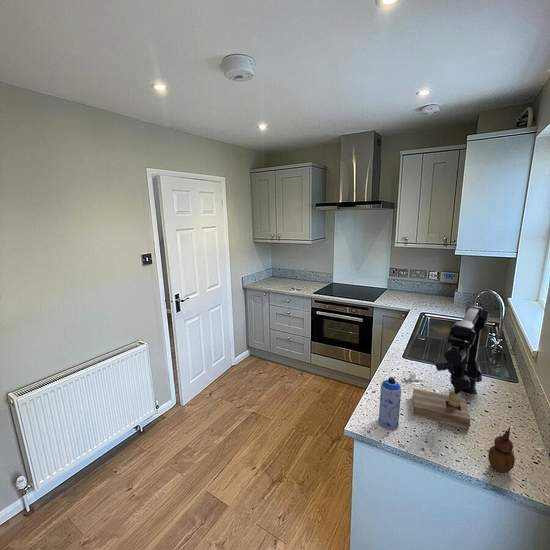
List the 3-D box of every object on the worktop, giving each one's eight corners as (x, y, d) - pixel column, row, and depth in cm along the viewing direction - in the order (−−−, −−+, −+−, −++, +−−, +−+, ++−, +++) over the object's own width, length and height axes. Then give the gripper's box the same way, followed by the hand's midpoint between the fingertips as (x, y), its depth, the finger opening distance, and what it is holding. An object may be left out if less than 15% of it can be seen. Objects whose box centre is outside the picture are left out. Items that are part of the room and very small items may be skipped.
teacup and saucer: (422, 379, 151) (423, 371, 150) (422, 387, 144) (423, 379, 143) (404, 375, 155) (405, 367, 154) (403, 382, 148) (403, 375, 147)
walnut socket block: (412, 396, 136) (413, 388, 135) (463, 408, 127) (464, 398, 127) (412, 415, 123) (413, 406, 122) (469, 429, 115) (470, 419, 114)
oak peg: (446, 408, 126) (448, 389, 124) (457, 411, 124) (460, 391, 122) (447, 414, 122) (449, 395, 120) (458, 417, 120) (461, 397, 119)
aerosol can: (400, 431, 114) (405, 385, 110) (379, 429, 116) (383, 383, 112) (396, 417, 122) (399, 374, 118) (376, 416, 123) (379, 372, 119)
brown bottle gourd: (502, 460, 100) (509, 422, 97) (516, 475, 95) (524, 435, 92) (482, 461, 100) (489, 423, 97) (496, 476, 94) (502, 436, 91)
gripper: (435, 342, 129) (431, 375, 132) (438, 361, 113) (434, 398, 116) (464, 347, 125) (460, 380, 128) (473, 367, 108) (467, 405, 111)
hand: (455, 390), depth 121 cm, fingers open, 5 cm apart
